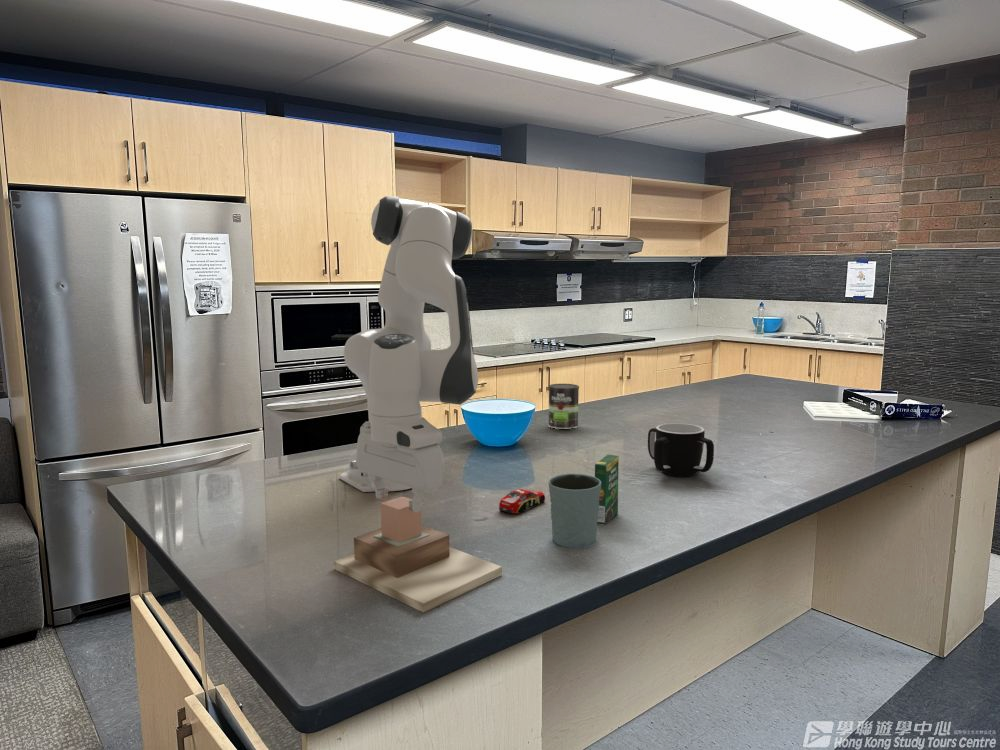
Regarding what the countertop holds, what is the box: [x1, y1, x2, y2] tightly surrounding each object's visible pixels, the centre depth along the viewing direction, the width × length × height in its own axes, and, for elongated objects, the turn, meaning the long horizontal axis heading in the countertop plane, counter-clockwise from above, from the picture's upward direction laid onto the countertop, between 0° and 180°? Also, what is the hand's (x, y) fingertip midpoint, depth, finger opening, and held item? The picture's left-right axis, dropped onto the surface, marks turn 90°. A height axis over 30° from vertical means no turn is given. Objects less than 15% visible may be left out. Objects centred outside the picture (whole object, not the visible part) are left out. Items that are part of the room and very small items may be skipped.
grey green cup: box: [548, 473, 601, 549], centre depth 134 cm, size 10×10×12 cm
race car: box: [498, 488, 546, 514], centre depth 155 cm, size 13×5×4 cm, turn 141°
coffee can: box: [548, 383, 580, 430], centre depth 233 cm, size 10×10×14 cm
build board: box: [333, 524, 503, 614], centre depth 121 cm, size 24×18×6 cm
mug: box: [647, 422, 715, 478], centre depth 179 cm, size 16×16×12 cm
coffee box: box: [594, 454, 620, 526], centre depth 145 cm, size 8×3×13 cm, turn 151°
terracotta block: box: [380, 496, 422, 543], centre depth 122 cm, size 5×5×6 cm
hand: (398, 504), depth 122 cm, fingers open, 8 cm apart
